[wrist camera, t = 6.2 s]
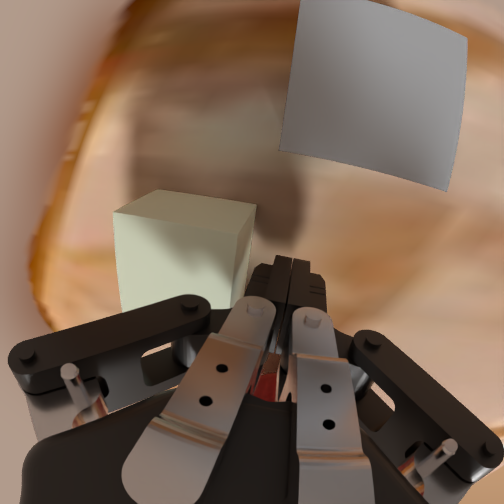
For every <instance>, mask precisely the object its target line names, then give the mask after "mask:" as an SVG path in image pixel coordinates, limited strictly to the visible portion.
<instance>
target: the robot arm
mask: <svg viewBox="0 0 504 504" xmlns="http://www.w3.org/2000/svg"><path fill="white" fill-rule="evenodd" d="M291 264H292V268H291ZM290 271H291V273H290ZM325 289H326V287H325V281H324V279H323V278H322V277H321V275H319V274H314V273H310V261H305V260H300V259H295V258H294V259H293V263H292V258H290V257H285V256H280V255H276V257H275V260H274V264H273V265H268V264H263V263H261V264H260V265H258V266H257V267H255V269H254V271H253V274H252V276H251V279H250V282H249V284H248V287H247V289H246V292H245V294H244V297H243V298H240V299H239V300H237V302H236V303H235V305H234V307H233V308H229V309H211V305H210V303H209V301H208V300H207V299H205V298H203V297H201V296H198V295H194V294H184V295H179V296H176V297H173V298H169V299H166V300H163V301H160V302H156V303H153V304H150V305H146V306H143V307H140V308H136V309H133V310H130V311H126V312H123V313H120V314H116V315H113V316H110V317H106V318H103V319H99V320H96V321H93V322H89V323H86V324H82V325H79V326H75V327H72V328H68V329H65V330H61V331H58V332H54V333H51V334H47V335H44V336H40V337H36V338H33V339H29V340H25V341H22V342H20V343H18V344H17V345H16V346H14V347H13V349H12V350H11V351H10V353H9V356H8V364H9V367H10V368H11V370H12V372H13V374H14V376H15V378H16V379H17V381H18V384H19V386H20V388H21V390H22V392H23V393H24V395H25V396H26V400H27V404H28V408H29V412H30V416H31V420H32V423H33V427H34V430H35V434H36V437H37V440H38V443H37V444H35V445H34V446H33V447H32V448H31V450H30V451H29V452H28V454H27V456H26V458H25V460H24V463H23V468H22V491H21V498H20V504H458V503H459V502H460V501H461V499H462V498H463V497H464V495H465V494H466V493H467V491H468V490H469V489H470V487H471V486H472V485H473V484H475V483H476V482H477V481H479V480H480V479H482V478H483V477H484V476H486V475H487V474H488V473H490V472H491V471H492V470H494V469H495V468H496V467H497V466H499V465H500V463H501V462H502V460H503V457H504V447H503V444H502V442H501V440H500V439H499V437H498V436H497V435H496V434H494V433H493V432H492V431H491V430H490V429H489V428H488V427H487V426H486V425H485V424H484V423H483V422H481V421H480V420H479V419H478V418H477V417H476V416H475V415H474V414H473V413H472V412H470V411H469V410H468V409H467V408H466V407H465V406H464V405H463V404H462V403H460V402H459V401H458V400H457V399H456V398H455V397H454V396H453V395H451V394H450V393H449V392H448V391H447V390H446V389H445V388H444V387H442V386H441V385H440V384H439V383H438V382H437V381H436V380H435V379H433V378H432V377H431V376H430V375H429V374H428V373H427V372H425V371H424V370H423V369H422V368H421V367H420V366H419V365H417V364H416V363H415V362H414V361H413V360H412V359H411V358H409V357H408V356H407V355H406V354H405V353H404V352H402V351H401V350H400V349H399V348H398V347H397V346H395V345H394V344H393V343H392V342H391V341H390V340H388V339H387V338H386V337H385V336H384V335H382V334H380V333H378V332H376V331H372V330H361V331H358V332H357V333H356V334H355V335H354V337H351V336H349V335H346V334H344V333H342V332H340V331H338V330H336V329H335V328H334V327H333V322H332V319H331V317H330V316H329V315H328V314H327V304H326V290H325ZM279 329H280V330H279ZM278 333H279V335H278ZM277 337H278V341H277ZM276 341H277V347H276V352H275V354H281V359H280V363H279V366H278V370H277V383H276V397H275V402H269V401H265V400H263V399H260V398H258V397H256V396H254V393H255V390H256V387H257V385H258V382H259V379H260V376H261V373H262V370H263V366H264V363H265V362H266V360H267V358H268V354H269V352H270V353H274V349H275V345H276ZM170 342H171V347H169V348H166V349H163V350H161V351H158V352H155V353H153V354H150V355H147V356H145V357H142V355H143V354H144V353H145V352H146V351H148V350H151V349H153V348H156V347H159V346H162V345H164V344H167V343H170ZM141 357H142V358H141ZM374 382H375V383H376V384H377V385H378V386H379V387H380V388H381V389H382V390H383V391H384V392H385V393H386V394H387V395H388V396H389V397H390V398H391V399H392V400H393V401H394V404H395V411H393V410H392V409H391V408H390V407H389V406H388V405H387V404H386V403H385V402H384V401H383V400H382V399H381V398H380V397H379V396H378V395H377V394H376V393H375V392H374V391H373V390H372V389H371V386H372V384H373V383H374ZM177 385H178V387H177V388H175V389H170V388H172V387H174V386H177ZM167 389H170V390H167ZM165 390H166V391H165ZM148 397H149V398H148ZM143 399H144V400H143ZM141 400H142V401H141ZM138 401H140V402H138ZM135 402H137V403H135ZM133 403H135V404H133ZM131 404H133V405H131ZM128 405H131V406H128ZM125 406H128V407H126V408H123V409H121V410H119V411H116V412H114V413H111V414H109V415H108V413H109V412H112V411H114V410H117V409H120V408H122V407H125Z"/></svg>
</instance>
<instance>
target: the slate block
mask: <svg viewBox="0 0 504 504" xmlns="http://www.w3.org/2000/svg"><path fill="white" fill-rule="evenodd" d="M466 70H467V38H466V37H464V36H462V35H460V34H458V33H456V32H454V31H452V30H449V29H447V28H445V27H443V26H441V25H438V24H436V23H433V22H431V21H429V20H426V19H424V18H421V17H418V16H416V15H413V14H410V13H407V12H404V11H402V10H399V9H395V8H392V7H389V6H386V5H382V4H379V3H375V2H372V1H368V0H300V7H299V15H298V22H297V29H296V36H295V44H294V51H293V58H292V65H291V72H290V79H289V86H288V93H287V99H286V106H285V113H284V120H283V126H282V133H281V140H280V146H279V151H284V152H290V153H296V154H301V155H307V156H312V157H317V158H322V159H326V160H331V161H336V162H340V163H345V164H349V165H353V166H358V167H362V168H366V169H370V170H374V171H378V172H381V173H385V174H389V175H392V176H396V177H400V178H403V179H407V180H410V181H413V182H417V183H420V184H423V185H426V186H430V187H433V188H436V189H439V190H442V191H445V192H447V190H448V186H449V182H450V178H451V173H452V169H453V165H454V160H455V155H456V150H457V145H458V139H459V133H460V127H461V120H462V113H463V105H464V96H465V85H466Z"/></svg>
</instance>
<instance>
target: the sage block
mask: <svg viewBox="0 0 504 504" xmlns="http://www.w3.org/2000/svg"><path fill="white" fill-rule="evenodd" d="M256 206H257V204H251V203H245V202H239V201H233V200H227V199H221V198H215V197H208V196H202V195H195V194H189V193H182V192H175V191H168V190H160V189H157V190H155V191H153V192H151V193H149V194H147V195H145V196H143V197H141V198H139V199H137V200H135V201H133V202H131V203H129V204H127V205H125V206H123V207H121V208H119V209H117V210H116V211H114V212H113V224H114V241H115V254H116V265H117V275H118V284H119V292H120V299H121V306H122V313H123V312H126V311H130V310H133V309H136V308H140V307H143V306H146V305H150V304H153V303H156V302H160V301H163V300H166V299H169V298H173V297H176V296H179V295H184V294H194V295H198V296H201V297H203V298H205V299H207V300H208V301H209V303H210V305H211V309H229V308H233V307H234V305H235V303H236V302H237V300H239V299H240V298H243V297H244V293H245V286H246V279H247V271H248V264H249V257H250V250H251V242H252V235H253V228H254V221H255V214H256Z"/></svg>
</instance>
